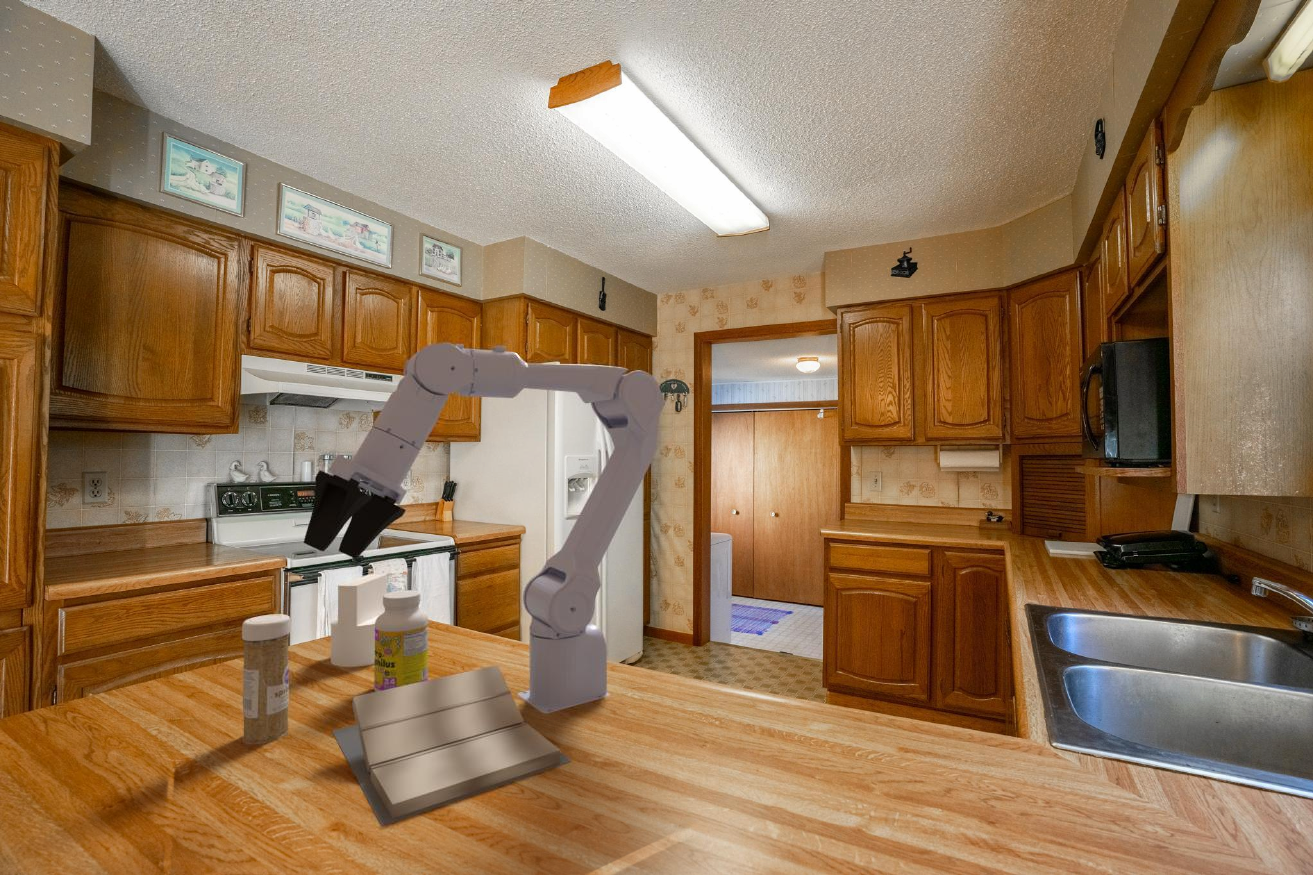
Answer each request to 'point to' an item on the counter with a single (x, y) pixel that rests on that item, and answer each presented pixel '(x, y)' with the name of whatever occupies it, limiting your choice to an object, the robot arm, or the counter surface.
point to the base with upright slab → (357, 620)
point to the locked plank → (461, 768)
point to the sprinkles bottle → (265, 678)
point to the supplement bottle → (401, 641)
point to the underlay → (356, 760)
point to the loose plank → (433, 714)
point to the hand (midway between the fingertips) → (331, 551)
